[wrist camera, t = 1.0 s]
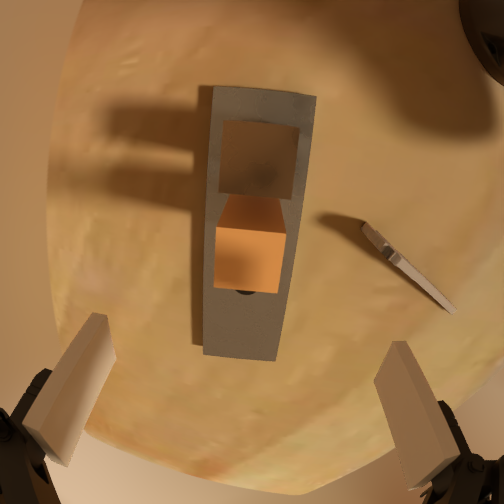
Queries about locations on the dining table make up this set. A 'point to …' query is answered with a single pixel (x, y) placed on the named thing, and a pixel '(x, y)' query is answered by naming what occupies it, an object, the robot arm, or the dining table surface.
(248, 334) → the bar
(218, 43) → the dining table surface
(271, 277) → the slide leg
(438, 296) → the caliper
